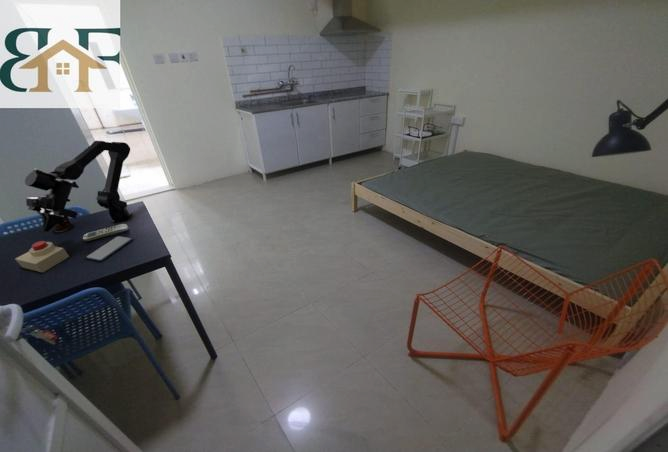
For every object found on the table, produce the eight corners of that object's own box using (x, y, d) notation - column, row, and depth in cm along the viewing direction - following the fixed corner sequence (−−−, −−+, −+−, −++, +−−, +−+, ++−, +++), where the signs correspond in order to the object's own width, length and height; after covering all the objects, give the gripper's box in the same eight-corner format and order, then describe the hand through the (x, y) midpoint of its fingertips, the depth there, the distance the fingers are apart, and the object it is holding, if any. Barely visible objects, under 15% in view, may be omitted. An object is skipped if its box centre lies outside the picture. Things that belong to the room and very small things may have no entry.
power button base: (49, 252, 118) (40, 239, 115) (69, 256, 115) (60, 244, 112) (22, 267, 110) (11, 254, 107) (42, 272, 107) (32, 259, 104)
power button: (43, 244, 113) (40, 240, 112) (50, 245, 112) (47, 241, 111) (32, 250, 110) (28, 246, 108) (39, 251, 109) (35, 247, 107)
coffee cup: (56, 226, 136) (39, 202, 129) (76, 221, 139) (61, 198, 132) (49, 235, 129) (32, 211, 122) (71, 230, 132) (55, 206, 125)
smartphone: (85, 257, 113) (117, 235, 125) (86, 258, 114) (118, 237, 125) (100, 260, 111) (132, 238, 123) (101, 262, 112) (133, 239, 123)
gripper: (18, 185, 109) (3, 223, 106) (51, 190, 104) (36, 230, 101) (52, 194, 119) (39, 229, 117) (83, 199, 115) (70, 236, 112)
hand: (45, 231), depth 111 cm, fingers closed
